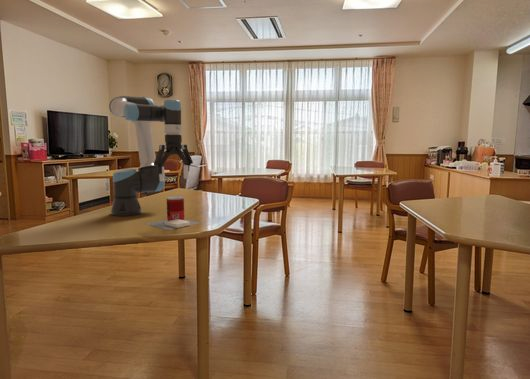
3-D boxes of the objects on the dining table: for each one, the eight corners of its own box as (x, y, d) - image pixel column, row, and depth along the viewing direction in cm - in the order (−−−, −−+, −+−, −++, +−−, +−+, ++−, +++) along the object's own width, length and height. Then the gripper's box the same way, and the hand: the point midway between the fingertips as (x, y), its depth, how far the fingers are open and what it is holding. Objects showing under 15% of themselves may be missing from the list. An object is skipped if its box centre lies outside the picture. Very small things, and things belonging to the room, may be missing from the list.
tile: (164, 221, 165) (176, 224, 159) (177, 219, 170) (189, 221, 164) (164, 225, 165) (177, 228, 159) (177, 222, 170) (190, 225, 165)
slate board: (145, 226, 168) (144, 223, 167) (177, 220, 181) (177, 217, 181) (168, 233, 156) (168, 230, 156) (201, 225, 170) (201, 223, 169)
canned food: (187, 219, 176) (187, 196, 175) (175, 222, 170) (174, 199, 168) (176, 217, 181) (176, 195, 179) (163, 220, 174) (163, 197, 173)
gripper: (154, 133, 158) (155, 182, 161) (199, 134, 177) (200, 178, 180) (144, 133, 163) (146, 181, 166) (189, 134, 182) (190, 177, 185)
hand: (174, 179), depth 173 cm, fingers open, 13 cm apart
